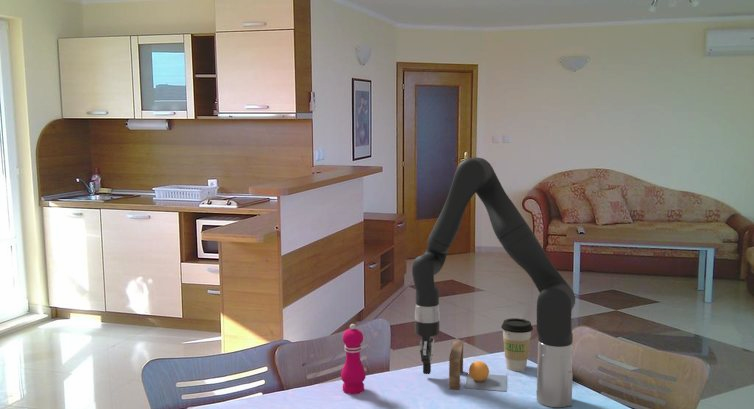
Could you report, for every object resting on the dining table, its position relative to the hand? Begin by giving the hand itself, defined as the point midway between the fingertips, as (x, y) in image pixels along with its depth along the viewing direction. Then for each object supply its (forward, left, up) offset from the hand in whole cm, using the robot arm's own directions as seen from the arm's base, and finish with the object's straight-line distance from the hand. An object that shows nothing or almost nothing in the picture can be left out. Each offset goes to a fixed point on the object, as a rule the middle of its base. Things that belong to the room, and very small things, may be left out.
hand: (426, 373), depth 194 cm
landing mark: (-18, 0, -2) cm, 18 cm away
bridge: (-9, 0, -2) cm, 9 cm away
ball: (-16, -1, +2) cm, 16 cm away
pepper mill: (+20, +14, -2) cm, 24 cm away
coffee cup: (-27, -14, -2) cm, 30 cm away
